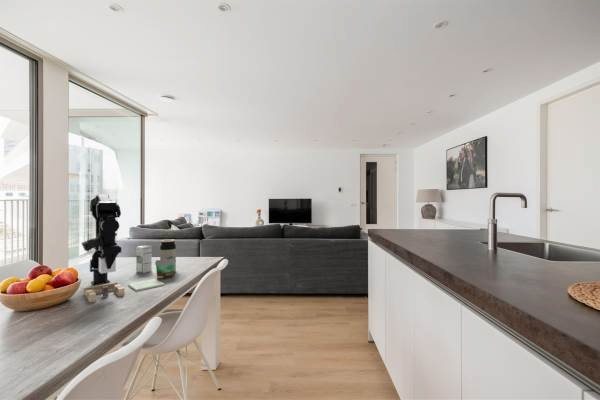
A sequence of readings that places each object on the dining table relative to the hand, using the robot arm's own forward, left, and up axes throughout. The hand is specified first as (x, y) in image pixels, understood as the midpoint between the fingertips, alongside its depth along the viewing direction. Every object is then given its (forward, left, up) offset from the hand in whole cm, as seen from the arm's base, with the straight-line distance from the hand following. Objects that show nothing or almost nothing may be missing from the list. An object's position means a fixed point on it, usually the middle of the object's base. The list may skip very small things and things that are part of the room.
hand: (107, 267), depth 118 cm
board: (-4, +16, -12) cm, 21 cm away
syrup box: (-33, +24, -12) cm, 43 cm away
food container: (-11, +29, -12) cm, 34 cm away
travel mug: (-22, +33, -12) cm, 42 cm away
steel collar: (0, 0, -2) cm, 2 cm away
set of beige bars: (-2, -1, -12) cm, 12 cm away
